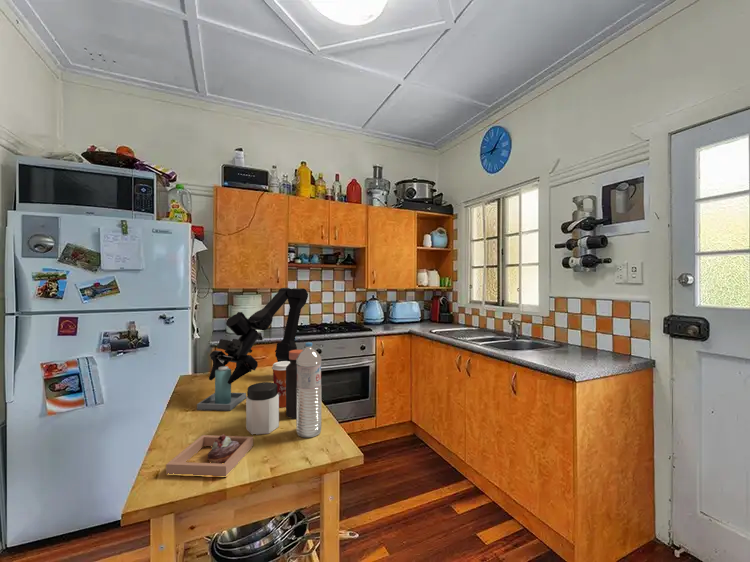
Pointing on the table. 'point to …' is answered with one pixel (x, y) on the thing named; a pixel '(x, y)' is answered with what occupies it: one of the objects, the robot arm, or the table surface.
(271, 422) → the jar
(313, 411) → the water bottle
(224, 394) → the pepper mill
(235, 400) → the tray
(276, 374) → the paper cup
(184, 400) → the table surface
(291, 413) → the vinegar
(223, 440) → the pastry
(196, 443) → the pastry plate
